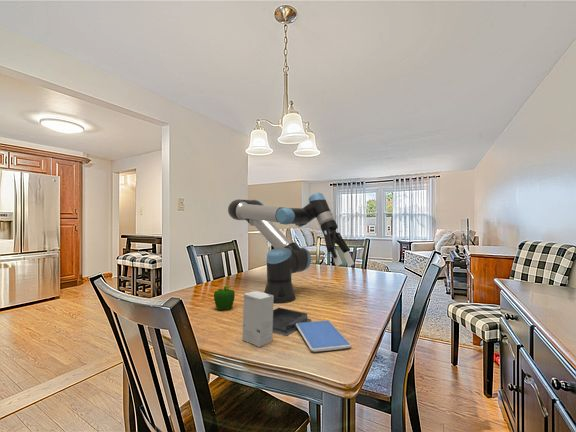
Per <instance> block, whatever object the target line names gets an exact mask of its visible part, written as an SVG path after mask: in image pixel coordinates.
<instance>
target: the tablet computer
mask: <svg viewBox="0 0 576 432" xmlns="http://www.w3.org/2000/svg"><path fill="white" fill-rule="evenodd" d="M296 327H297V328H298V332H299V333H300V335H301V337H302V338H303V339H304V341H305V343H306V344H307V346H308V348H309V350H310V351H311V352H316V353H317V352H325V351H326V352H327V351H329V352H330V351H335V350H336V351H337V350H344V349H349V348H351V347H352V344H351V343H350V341H348V339H346V337H345V336H344V335H343V334H342V333H341V332H340V331H339V329H337V328H336V327H335V325H334V324H333V323H332V322H331V321H330V320H317V321H311V322H304V323H297V324H296Z"/></svg>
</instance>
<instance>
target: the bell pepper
mask: <svg viewBox="0 0 576 432" xmlns="http://www.w3.org/2000/svg"><path fill="white" fill-rule="evenodd" d="M235 295H236V294H235V290H234V289H231V285H225V286H224V287H223V289H222V288H219V289H218V290H216V291H214V293H213V300H214V305H215V308H216V309H217V310H218V311H224V310H230V309H232V308H233V306H234V302H235V297H236V296H235Z"/></svg>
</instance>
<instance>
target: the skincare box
mask: <svg viewBox="0 0 576 432" xmlns="http://www.w3.org/2000/svg"><path fill="white" fill-rule="evenodd" d="M273 300H274V296H273V295H269V294H266V293H264V292H262V291H258V290H254V291H250V292H246V293H243V312H242V315H243V316H242V336H241V337H242V338H241V339H242V341H244V342H247V343H249V344H251V345H254V346H256V347H258V348H261V347H262V346H265V345H268V344H270V343H272V342H273V332H272V331H273V310H274V303H273Z"/></svg>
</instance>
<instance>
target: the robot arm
mask: <svg viewBox="0 0 576 432" xmlns="http://www.w3.org/2000/svg"><path fill="white" fill-rule="evenodd" d="M308 202H309V203H307V205H306V206H303V207H301V208H300V207H298V208H297V207H296V208H295V207H284V206H283V207H281V206H273V205H272V206H271V205H264V203H262V202H261V201H260V200H256V199H234V200H232V201H231V202H230V203H229V205H228V208H227V213H228V215H229V217H231V219H234V220H236V221H246V222H247V224H248V225H250V227H251V226H252V227H255V229H257V230H258V231H259V232H260V234H261V235H262V236H263V237H264V238H265V240H267V242H268V243H269V244H270V245H271V246H272V247H273V249H270V250H269V251H268V252H267V253H266V285H265V289H264V292H263V293H266V294H269V295H273V296H274V300H273V304H282V303H289V302H293V301H294V300H296V292H295V289H294V285H293V282H292V274H295V273H299V272H304V271H306V270H308V268H309V267H310V266H311V263H312V256H311V253H310V251H309V250H308V249H307V248H306V247H305V248H304V247H300V246H299V245H298V244H297V243H296V242H294V241H291V240H289V239H288V237H287V236H286V235H284V233H283V232H282V231H281V230H280V229H279V228H278V227H277V226H276V225H275V223H279V224H281V225H295V226H296V227H299V228H302V227H303V226H306V225H308V224H309V223H310V222H312V221H313V220H314V219H316V221H317V223H318V225H319V227H320V229H321V231H322V234H323V238H324V242H325V248H326V251H327V253H330V254H331V256H332V258H333V262H334V263H335V266H336V267H339V266H340V265H343V261H342V259H341V257H340V255H339V252H338V250H337V249H336V245H337V246H338V248H340V250H341V252H342V253H343V254H342V255H343V258H344V259H345V261H346V263H347V265H348V267H352V266H353V265H355V262H354V260H353V258H352V256H351V253H350V251H351V248H350V247H349V246H348V244H347V243H346V241H345V240H344V239H343V236H342V234H341V233H340V232H337V229H338V227H339V226H338V223H337V222H336V220H335V218H334V215H333V214H334V212H332V211H331V209H330V207H329V203H328V201H327V199H326V198H325V196H324V194H323V193H322V192H315V193H312V194H311V195H309V197H308Z"/></svg>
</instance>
